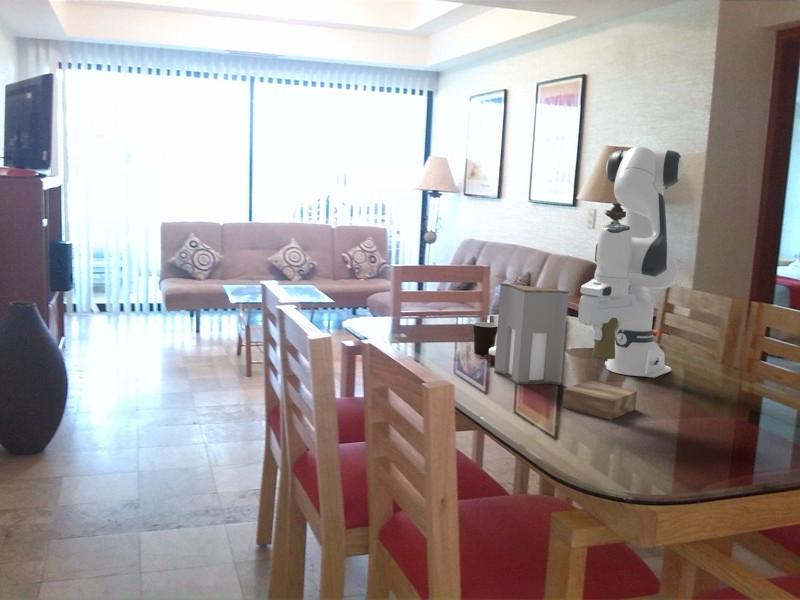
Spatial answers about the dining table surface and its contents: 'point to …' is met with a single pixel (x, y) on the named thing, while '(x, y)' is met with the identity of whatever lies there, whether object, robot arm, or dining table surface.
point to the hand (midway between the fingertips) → (606, 338)
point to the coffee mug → (484, 337)
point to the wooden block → (599, 399)
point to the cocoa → (491, 355)
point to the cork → (606, 341)
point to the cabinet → (531, 334)
